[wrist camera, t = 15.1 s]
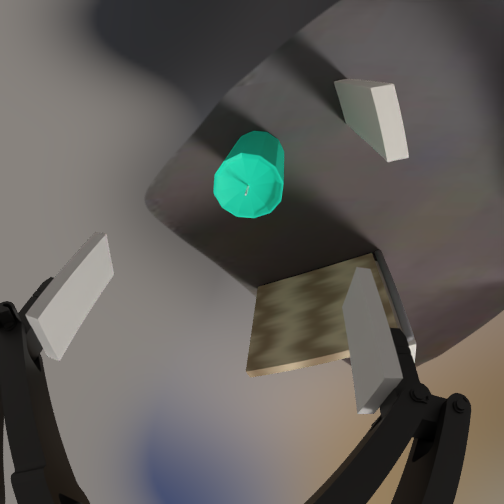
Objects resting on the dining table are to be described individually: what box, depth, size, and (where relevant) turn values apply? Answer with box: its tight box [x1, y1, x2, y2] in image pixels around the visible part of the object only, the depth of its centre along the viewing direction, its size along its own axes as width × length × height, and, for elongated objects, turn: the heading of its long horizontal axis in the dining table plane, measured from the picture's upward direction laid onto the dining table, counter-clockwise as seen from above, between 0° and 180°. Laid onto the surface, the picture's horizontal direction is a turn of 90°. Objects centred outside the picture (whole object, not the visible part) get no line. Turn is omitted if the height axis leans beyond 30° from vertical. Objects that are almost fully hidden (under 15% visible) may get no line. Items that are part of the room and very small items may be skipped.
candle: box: [213, 131, 284, 218], centre depth 29 cm, size 6×6×12 cm
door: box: [246, 253, 398, 377], centre depth 36 cm, size 17×3×15 cm, turn 114°
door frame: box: [334, 79, 416, 363], centre depth 29 cm, size 2×31×15 cm, turn 20°
